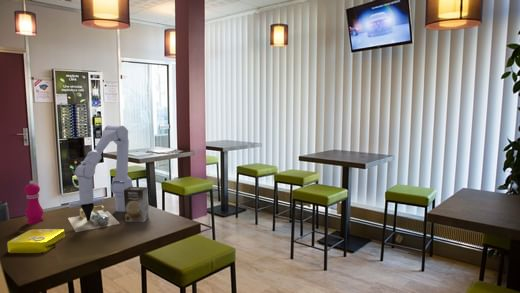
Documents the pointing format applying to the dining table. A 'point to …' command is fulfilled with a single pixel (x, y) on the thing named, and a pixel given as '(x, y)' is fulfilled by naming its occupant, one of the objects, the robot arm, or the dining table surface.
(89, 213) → the robot arm
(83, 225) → the board
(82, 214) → the tan wooden arch piece
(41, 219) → the pepper mill
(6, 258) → the dining table surface
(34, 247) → the element tile
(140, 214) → the coffee box
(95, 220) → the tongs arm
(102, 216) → the grey long bar
